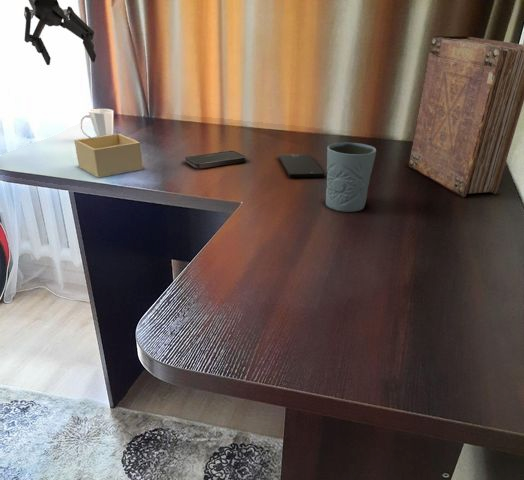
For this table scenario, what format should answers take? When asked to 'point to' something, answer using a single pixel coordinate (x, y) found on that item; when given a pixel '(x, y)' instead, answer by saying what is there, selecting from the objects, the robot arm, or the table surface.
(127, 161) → the tan open box
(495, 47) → the book
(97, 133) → the cup
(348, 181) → the grey embossed tumbler
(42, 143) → the table surface
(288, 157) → the cell phone
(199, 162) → the phone
